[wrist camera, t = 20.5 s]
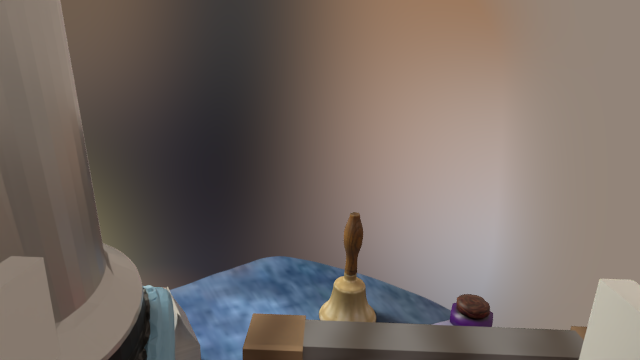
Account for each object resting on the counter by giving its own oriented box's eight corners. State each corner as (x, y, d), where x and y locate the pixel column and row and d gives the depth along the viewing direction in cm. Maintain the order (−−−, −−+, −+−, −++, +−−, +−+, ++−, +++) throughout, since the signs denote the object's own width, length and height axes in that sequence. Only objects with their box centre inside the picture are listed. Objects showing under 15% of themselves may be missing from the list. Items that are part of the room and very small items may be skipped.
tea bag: (187, 353, 52) (182, 282, 49) (202, 390, 46) (198, 312, 43) (156, 363, 50) (149, 290, 47) (168, 403, 44) (160, 322, 42)
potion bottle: (513, 396, 47) (532, 303, 43) (478, 443, 41) (496, 339, 37) (444, 357, 53) (456, 272, 49) (405, 392, 47) (415, 299, 43)
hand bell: (379, 305, 63) (387, 206, 59) (372, 339, 56) (381, 228, 51) (326, 296, 65) (329, 200, 61) (312, 328, 57) (315, 220, 53)
